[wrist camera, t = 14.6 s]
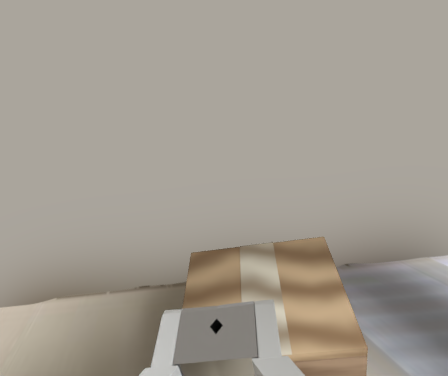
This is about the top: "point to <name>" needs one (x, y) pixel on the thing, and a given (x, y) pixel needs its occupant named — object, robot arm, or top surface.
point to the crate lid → (283, 294)
